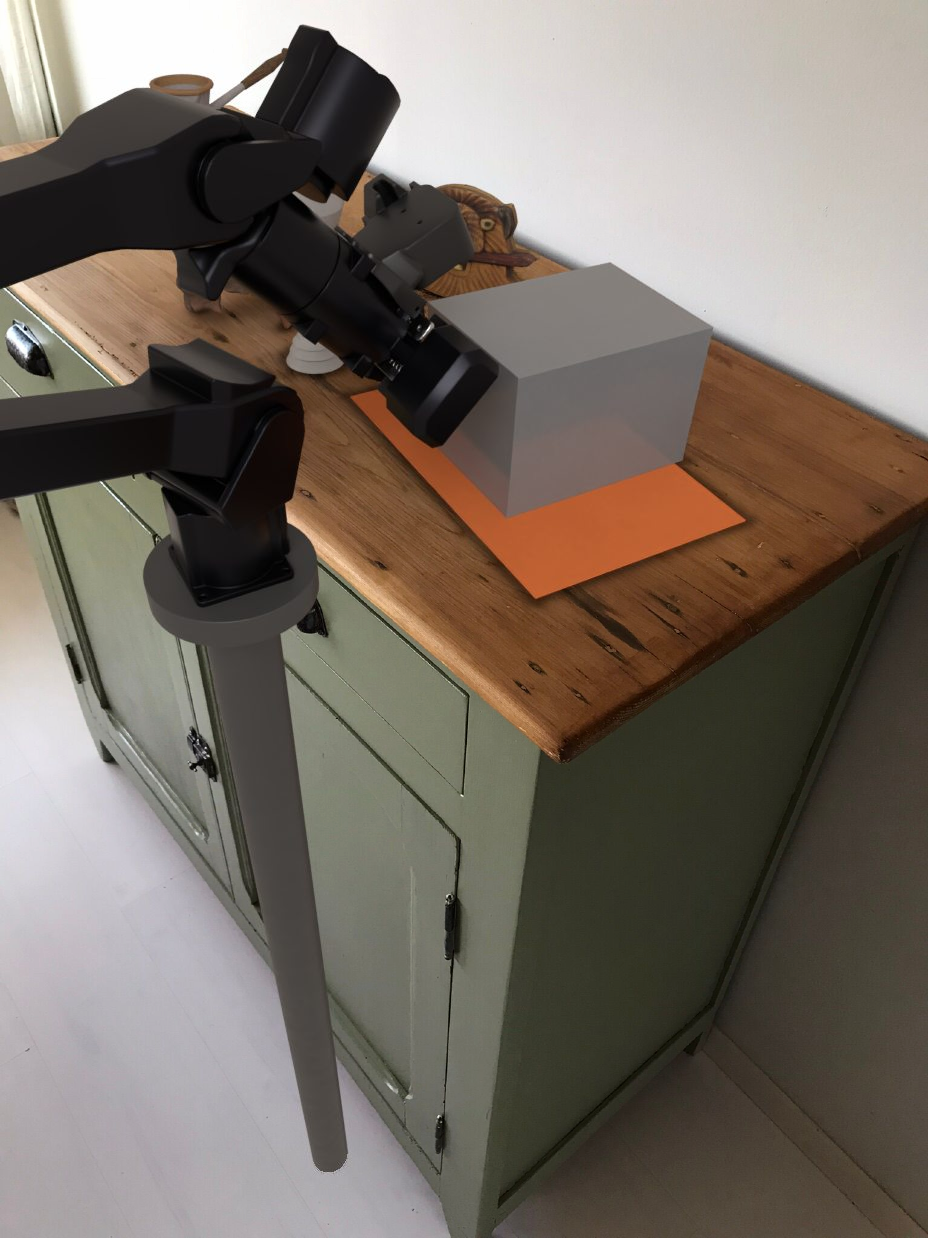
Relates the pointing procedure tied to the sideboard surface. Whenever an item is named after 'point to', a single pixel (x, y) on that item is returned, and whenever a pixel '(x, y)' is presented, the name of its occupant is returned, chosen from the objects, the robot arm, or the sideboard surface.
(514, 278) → the wooden carving
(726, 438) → the sideboard surface
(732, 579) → the sideboard surface
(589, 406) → the stone block
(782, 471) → the sideboard surface
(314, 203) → the chalice
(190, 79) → the coffee pot
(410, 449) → the towel
